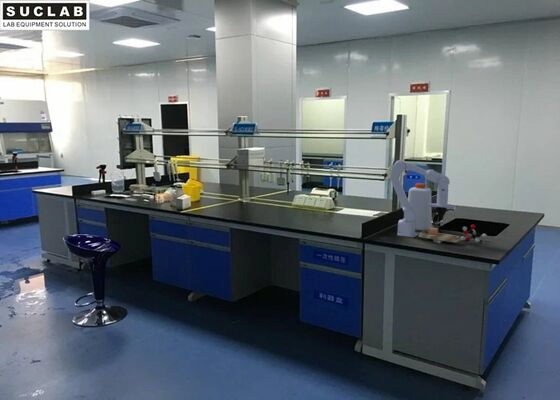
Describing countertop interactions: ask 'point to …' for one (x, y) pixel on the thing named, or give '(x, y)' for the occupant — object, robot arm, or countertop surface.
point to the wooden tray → (439, 237)
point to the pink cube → (433, 231)
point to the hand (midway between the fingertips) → (440, 220)
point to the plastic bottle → (421, 206)
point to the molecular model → (472, 234)
